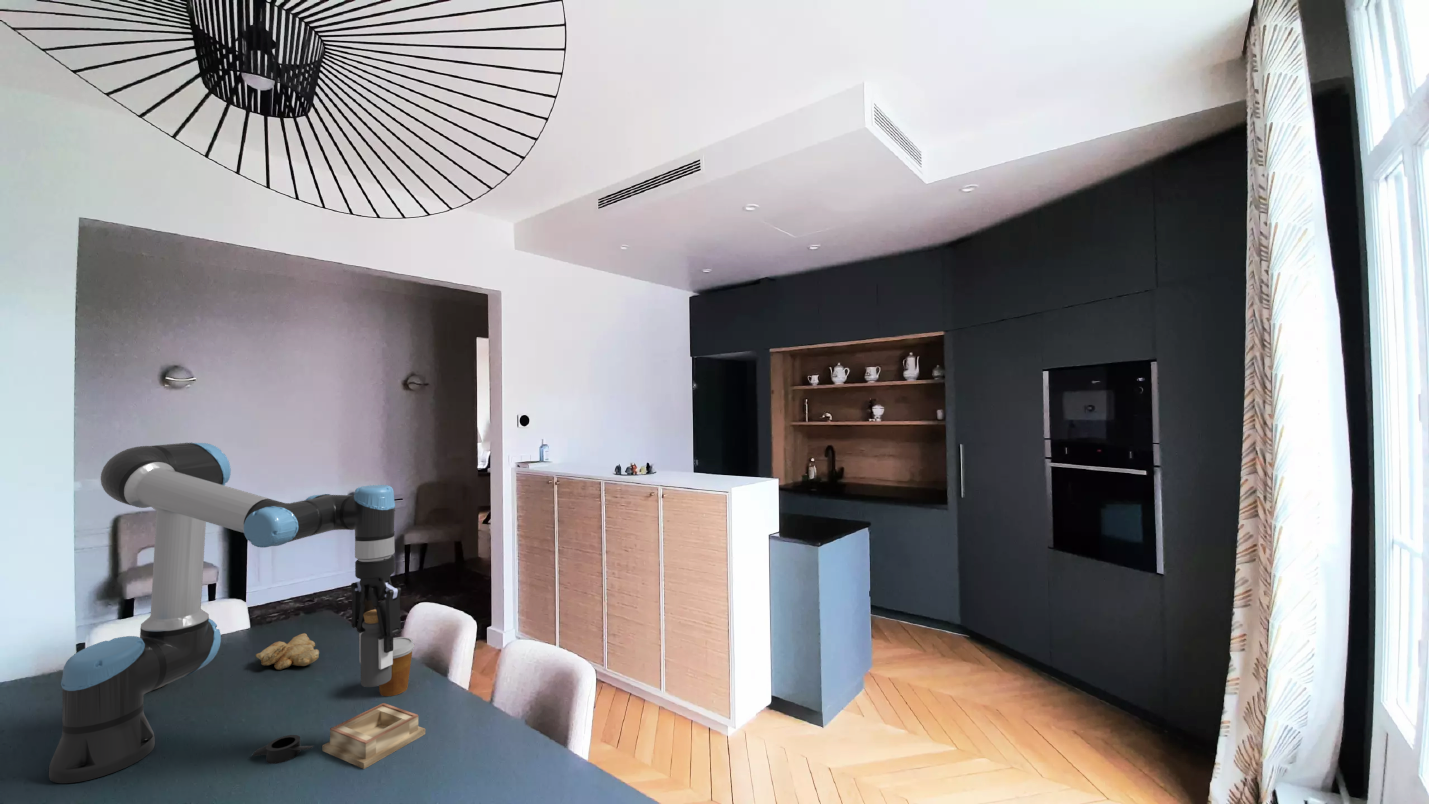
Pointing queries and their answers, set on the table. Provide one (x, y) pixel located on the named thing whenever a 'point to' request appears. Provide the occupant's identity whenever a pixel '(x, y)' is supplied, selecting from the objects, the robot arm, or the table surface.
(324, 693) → the table surface
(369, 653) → the bottle
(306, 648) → the ginger root
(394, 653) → the disposable coffee cup
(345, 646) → the table surface
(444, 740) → the table surface
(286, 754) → the dark winged oval cup
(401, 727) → the holder block
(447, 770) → the table surface
